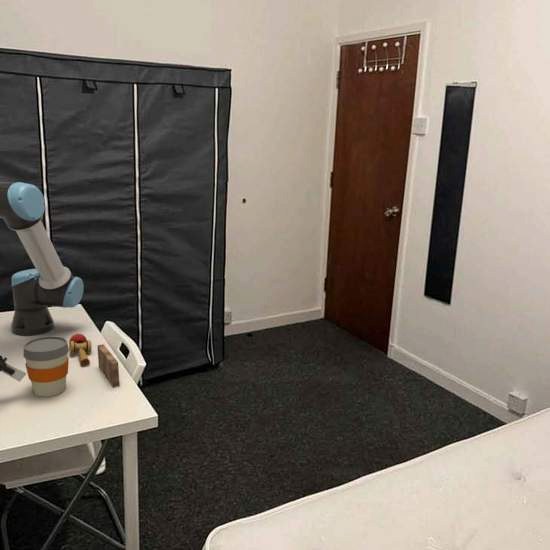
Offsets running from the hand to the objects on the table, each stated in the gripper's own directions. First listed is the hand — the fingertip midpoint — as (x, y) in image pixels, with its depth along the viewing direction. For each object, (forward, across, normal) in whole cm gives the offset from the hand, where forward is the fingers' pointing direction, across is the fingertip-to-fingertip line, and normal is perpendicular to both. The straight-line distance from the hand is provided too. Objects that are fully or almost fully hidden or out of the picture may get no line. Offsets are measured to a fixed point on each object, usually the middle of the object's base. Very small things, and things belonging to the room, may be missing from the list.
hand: (22, 377), depth 161 cm
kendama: (+20, -20, +11) cm, 30 cm away
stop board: (+22, 0, +14) cm, 26 cm away
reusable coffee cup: (+10, 0, +1) cm, 10 cm away
